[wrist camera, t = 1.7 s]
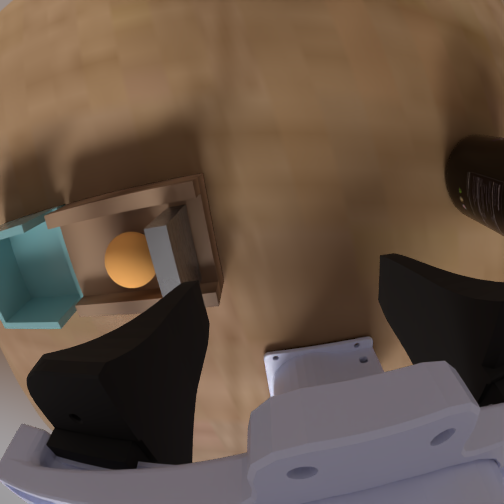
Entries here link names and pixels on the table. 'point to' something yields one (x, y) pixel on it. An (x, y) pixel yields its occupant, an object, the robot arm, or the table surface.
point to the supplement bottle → (478, 179)
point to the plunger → (172, 249)
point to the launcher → (135, 220)
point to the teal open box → (36, 275)
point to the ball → (129, 260)
